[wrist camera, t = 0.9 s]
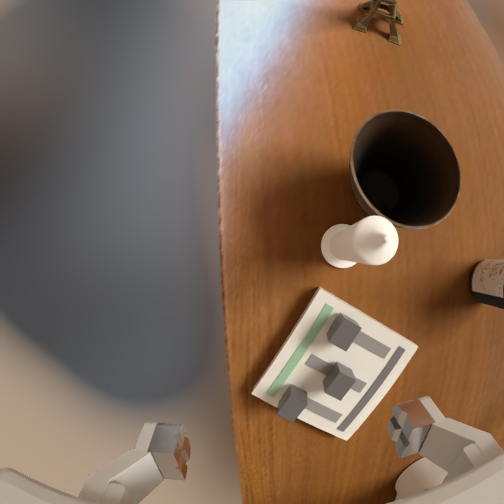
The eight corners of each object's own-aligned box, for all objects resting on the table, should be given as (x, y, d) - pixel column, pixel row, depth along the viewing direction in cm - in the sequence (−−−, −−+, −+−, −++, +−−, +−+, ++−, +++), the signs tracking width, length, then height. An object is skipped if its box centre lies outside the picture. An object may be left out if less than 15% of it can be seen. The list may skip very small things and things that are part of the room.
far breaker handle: (307, 392, 44) (307, 404, 39) (293, 409, 44) (292, 422, 40) (291, 383, 44) (290, 395, 40) (278, 401, 44) (276, 414, 40)
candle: (347, 276, 46) (395, 300, 22) (312, 251, 47) (326, 249, 23) (371, 240, 46) (438, 228, 21) (336, 215, 47) (373, 177, 22)
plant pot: (316, 193, 47) (323, 165, 31) (369, 133, 46) (394, 88, 30) (382, 255, 45) (419, 256, 30) (431, 192, 44) (478, 169, 28)
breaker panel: (412, 341, 44) (418, 346, 41) (345, 432, 46) (346, 441, 43) (319, 286, 47) (320, 288, 44) (253, 386, 49) (251, 394, 45)
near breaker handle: (356, 321, 43) (361, 328, 38) (342, 342, 43) (346, 351, 39) (340, 311, 43) (344, 318, 39) (326, 333, 43) (328, 342, 39)
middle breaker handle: (351, 369, 43) (356, 380, 38) (337, 388, 43) (340, 400, 39) (336, 361, 43) (340, 371, 39) (322, 380, 43) (324, 392, 39)
